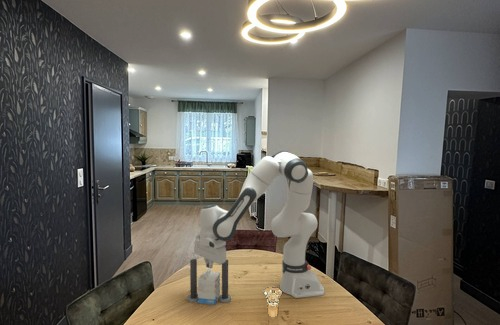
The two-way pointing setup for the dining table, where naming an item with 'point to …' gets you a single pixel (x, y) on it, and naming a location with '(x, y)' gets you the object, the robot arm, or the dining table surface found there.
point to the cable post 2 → (225, 284)
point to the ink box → (209, 287)
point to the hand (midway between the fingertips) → (209, 267)
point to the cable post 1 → (193, 282)
